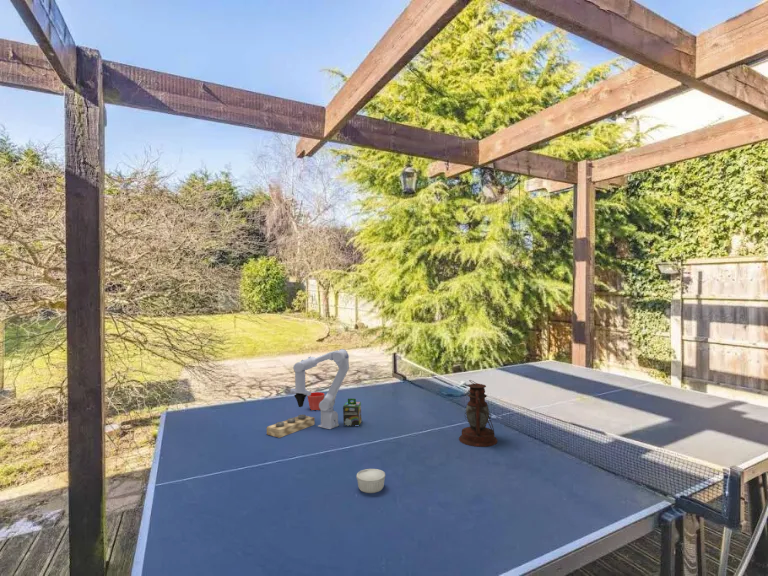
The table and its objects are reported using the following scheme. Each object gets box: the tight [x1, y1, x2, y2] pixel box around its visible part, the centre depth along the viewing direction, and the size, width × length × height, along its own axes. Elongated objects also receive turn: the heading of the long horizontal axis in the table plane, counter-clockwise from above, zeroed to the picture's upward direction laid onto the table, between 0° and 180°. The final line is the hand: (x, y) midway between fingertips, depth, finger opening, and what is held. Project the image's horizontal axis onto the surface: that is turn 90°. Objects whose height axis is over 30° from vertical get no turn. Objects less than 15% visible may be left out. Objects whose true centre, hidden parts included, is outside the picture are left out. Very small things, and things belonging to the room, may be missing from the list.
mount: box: [266, 415, 316, 439], centre depth 236 cm, size 26×10×4 cm, turn 145°
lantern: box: [458, 379, 498, 448], centre depth 215 cm, size 19×19×30 cm
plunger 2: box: [287, 417, 295, 423], centre depth 236 cm, size 4×4×5 cm
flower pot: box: [307, 391, 326, 411], centre depth 276 cm, size 11×11×10 cm
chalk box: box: [342, 398, 363, 427], centre depth 244 cm, size 9×9×15 cm
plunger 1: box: [275, 421, 284, 427], centre depth 230 cm, size 4×4×5 cm
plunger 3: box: [297, 414, 307, 419], centre depth 243 cm, size 4×4×5 cm
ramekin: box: [356, 468, 386, 494], centre depth 165 cm, size 11×11×5 cm
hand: (300, 406), depth 245 cm, fingers closed
